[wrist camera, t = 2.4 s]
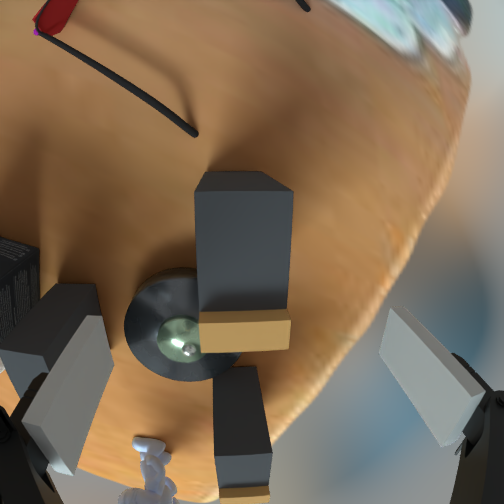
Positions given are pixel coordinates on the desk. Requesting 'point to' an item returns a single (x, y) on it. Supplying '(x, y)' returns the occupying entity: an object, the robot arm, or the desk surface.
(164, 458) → the toy figurine
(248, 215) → the dark grey tan-ended block
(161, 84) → the desk surface
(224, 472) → the dark grey block
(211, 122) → the desk surface
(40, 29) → the glasses
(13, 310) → the box
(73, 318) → the grey tan block
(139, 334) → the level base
